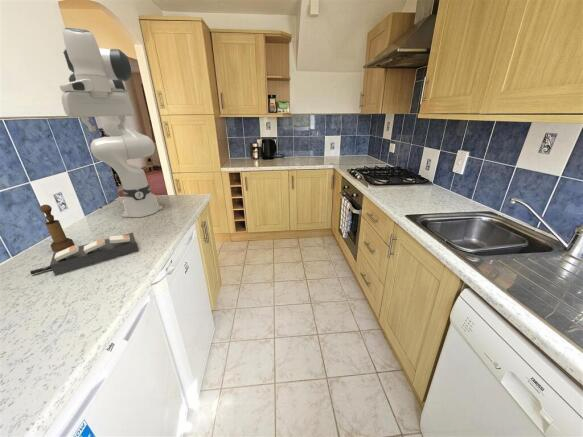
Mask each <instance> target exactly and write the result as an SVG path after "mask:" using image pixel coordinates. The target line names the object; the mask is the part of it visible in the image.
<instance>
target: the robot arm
mask: <svg viewBox="0 0 583 437" xmlns="http://www.w3.org/2000/svg"><path fill="white" fill-rule="evenodd" d="M62 35H63V40H64V41H63V42H64V46H65V50H63V52H62V53H63V55H64V58H65V62H66V63H67V68H68V69H69V71H70V72H71V74H70V75H69V77H68V82H65V83H62V84H60V85H59V88H60V90H61V92H63V93H61V104H62V107H63V110H64V111H63V112H64V113H65V115H67V117H68V118H80V119H81V122H82V123H84V124H85V126H87V129H88V131H89V132H97V129H96V125H92V124H91V123H90V122H89V121H90V119H89V118H92V117H94V118H98V120H99V122H100V125H101V128H102V130H103V132H105V134H107V135H108V136H103V137H99V138H94V139H92V141H91V142H90V147H89V148H90V152H91V154H92V155H93V157H95V158H96V159H97V161H101V162H102V163H104V164H106V165H109V166H110V167H111V168H112V169H113V170H114V172H116V174H117V177H119V180H120V182H121V186H122V193H123V196H124V198H123V200H122V201H121V202H122V206H123V207H124V208H123V212H122V216H121V217H123V218H142V217H143V218H144V217H147V216H150V215H153V214H155V213H157V212H159V211H161V210H162V209H163V206H162V205H160V204H158V200H157V197H156V194H154V193H152V190H151V187H150V185H149V182H148V180H147V179H148V178H147V176H146V173H145V171H144V169H142V168H141V167H138V166H136V165H131V164H129V163H128V160H135V159H144V158H147V157H150V156H152V155H154V153H155V150H156V149H155V148H156V147H155V146H156V145H155V142H154V140H152V139H151V137H150V136H148V135H145V134H143V133H140V132H138V131H137V130H135V129H134V128H132V127H131V126H130V124H129V122H128V121H127V118H126V117H133V116H134V115H135V111H134V108H133V104H132V102H131V97H130V94H129V92H128V91H127V88H126V87H127V86H126V83H125V82H128V81H129V80H130V79H131V77H133V76H132V75H133V69H132V68H133V67H132V65H131V60H130V59H129V57H128V55H127V54H125V53H124V52H123V51H122V50H121V49H118V48H110V49H109V48H101V47H100V48H99V45H98V42H97V40H96V37H95V36H94V33H93V32H92V31H89V30H87V29H81V28H74V27H65V28H63V29H62Z"/></svg>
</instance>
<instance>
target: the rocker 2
mask: <svg viewBox="0 0 583 437" xmlns="http://www.w3.org/2000/svg"><path fill="white" fill-rule="evenodd" d="M108 237H109V238H108V239H109V240H110V243H120V242H130V237H129V235H126V234H123V235H109V236H108Z"/></svg>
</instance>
